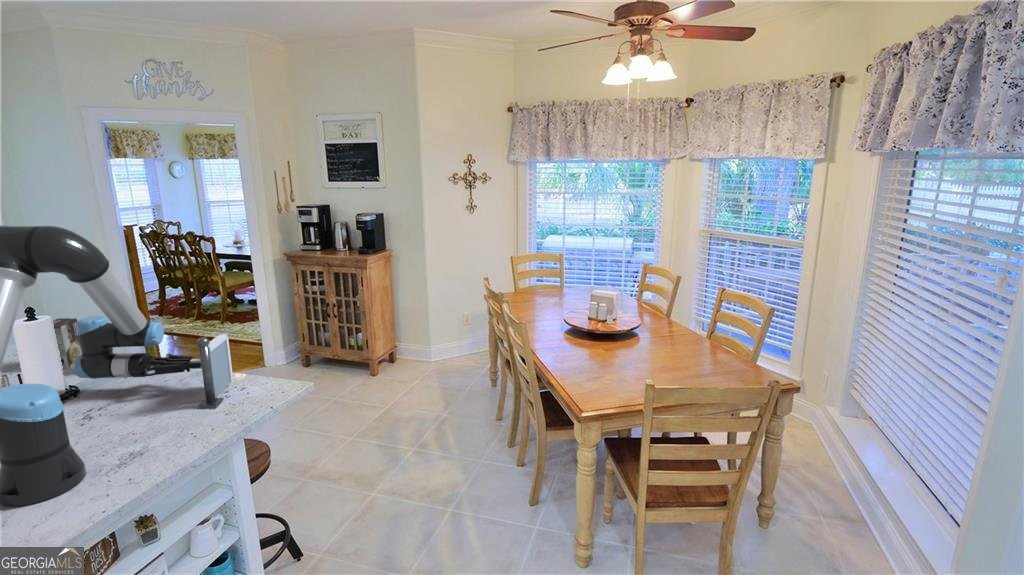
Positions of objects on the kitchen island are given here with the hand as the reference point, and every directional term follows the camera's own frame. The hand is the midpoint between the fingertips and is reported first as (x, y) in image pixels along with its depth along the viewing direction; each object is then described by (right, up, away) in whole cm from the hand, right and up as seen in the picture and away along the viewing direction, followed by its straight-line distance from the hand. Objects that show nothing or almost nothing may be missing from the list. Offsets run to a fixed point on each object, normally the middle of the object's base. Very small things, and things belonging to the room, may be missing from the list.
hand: (213, 363), depth 164 cm
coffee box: (-62, -3, +18) cm, 65 cm away
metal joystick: (+4, -11, -8) cm, 14 cm away
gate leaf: (+3, -8, -1) cm, 9 cm away
